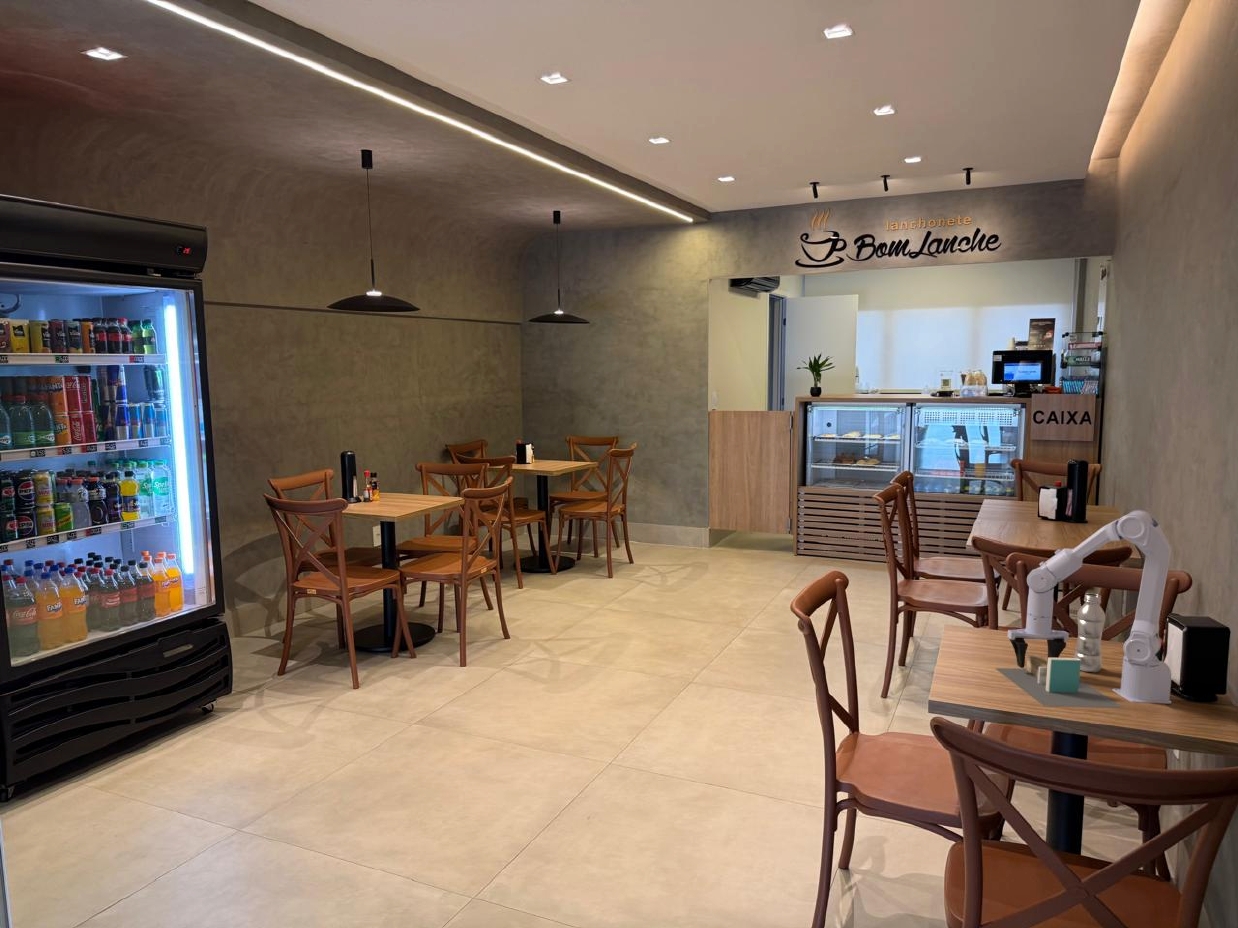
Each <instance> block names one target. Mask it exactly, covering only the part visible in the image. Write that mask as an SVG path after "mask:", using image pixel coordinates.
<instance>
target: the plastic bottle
mask: <svg viewBox="0 0 1238 928" xmlns="http://www.w3.org/2000/svg"><path fill="white" fill-rule="evenodd" d="M1083 601H1084V603H1083V605H1081V606H1080V608H1079V609H1078V611H1077V613H1076V615H1077V616H1076V617H1077V643H1076V648H1075V651H1074V654H1073V655H1074V656H1073V658H1078V659H1080V661H1081V662H1080V672H1081V671H1082V672H1086V673H1099V671H1101V669H1102V666H1103V657H1102V636H1103V631H1104V626H1105V622H1106V617H1107V616H1106V614H1105V611H1104V609H1103V608H1102V607H1101V605H1100V604H1102V595H1100V594H1097V593H1091V592H1090V593H1084V598H1083Z"/></svg>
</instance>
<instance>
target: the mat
mask: <svg viewBox="0 0 1238 928" xmlns="http://www.w3.org/2000/svg"><path fill="white" fill-rule="evenodd" d="M994 669H995V670H996V671H998V672H999V673H1000V674H1002V675H1003V676H1004V677H1006V679H1008V680H1010V681H1011V682H1012V683H1013V684H1014V685H1016V686H1017V687H1018V688H1020V689H1021V690H1022V691H1024V693H1027V695H1029V696H1030V697H1032V698H1033V699H1034V700H1035V701H1037V702H1038V703H1039V704H1040V705H1042V706H1043V707H1060V708H1062V707H1063V708H1064V707H1067V708H1068V707H1069V708H1108V709H1109V708H1111V709H1112V708H1116V709H1117V708H1118V709H1124V707H1123V706H1121V705H1120V704H1118V703H1117V702H1115V701H1114V700H1112V699H1111V698H1109V697H1107V696H1106V695H1105V694H1103V693H1101V692H1100V691H1099V690H1097V689H1095V688H1094V687H1093V686H1091V685H1090V684H1088V683H1087V682H1085V681H1083V680H1082V679H1080V678H1079V688H1078V693H1069V692H1048V691H1046V684H1039V683H1037V682H1038V678H1037V677H1036V676H1035V675H1033V674H1032V673H1030V672H1029V671H1028V670H1027V668H1011V667H1010V668H1006V667H1005V668H1002V667H1000V668H999V667H995V668H994Z"/></svg>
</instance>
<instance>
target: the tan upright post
mask: <svg viewBox="0 0 1238 928" xmlns="http://www.w3.org/2000/svg"><path fill="white" fill-rule="evenodd" d="M1026 657H1027V659H1026V669H1027V670H1028V671H1029V672H1030V673H1032V674H1033V675H1035V676H1036V677H1037V678H1038V682H1037V683H1039V684H1046V678H1047V664H1048V662H1047V660H1046V659H1044V658H1042V657H1041V656H1039V655H1038V654H1027V656H1026Z"/></svg>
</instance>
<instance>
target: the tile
mask: <svg viewBox="0 0 1238 928" xmlns="http://www.w3.org/2000/svg"><path fill="white" fill-rule="evenodd" d="M1047 658H1048V657H1047ZM1080 662H1081V661H1080V659H1078V658H1074V657H1058V658H1048V664H1047V678H1046V691H1048V692H1069V693H1078V688H1079V679H1080V674H1081V670H1080Z"/></svg>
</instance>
